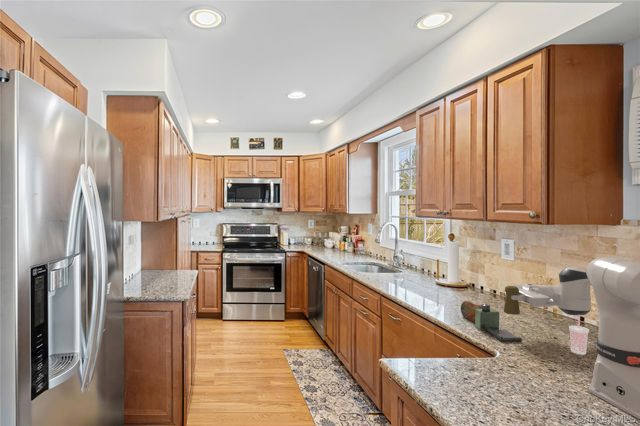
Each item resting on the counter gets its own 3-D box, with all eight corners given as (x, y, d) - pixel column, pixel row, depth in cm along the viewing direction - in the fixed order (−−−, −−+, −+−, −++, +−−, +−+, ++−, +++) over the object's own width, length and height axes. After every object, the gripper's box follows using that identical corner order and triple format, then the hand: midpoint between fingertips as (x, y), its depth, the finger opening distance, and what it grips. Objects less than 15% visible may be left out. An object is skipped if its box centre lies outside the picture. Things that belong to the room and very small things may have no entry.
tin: (460, 315, 172) (460, 298, 172) (465, 315, 173) (465, 298, 173) (481, 326, 158) (481, 307, 158) (487, 325, 159) (487, 307, 158)
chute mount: (521, 341, 140) (521, 316, 139) (495, 341, 139) (496, 316, 139) (498, 326, 157) (498, 303, 157) (475, 326, 157) (475, 303, 157)
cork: (522, 314, 142) (523, 287, 142) (507, 314, 142) (507, 287, 142) (515, 310, 148) (516, 284, 148) (501, 310, 148) (501, 284, 148)
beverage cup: (579, 356, 126) (580, 318, 126) (564, 349, 132) (565, 312, 132) (593, 354, 128) (593, 317, 127) (577, 348, 134) (578, 311, 133)
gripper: (557, 310, 135) (522, 310, 135) (526, 296, 156) (495, 296, 156) (558, 294, 135) (522, 294, 135) (526, 282, 156) (495, 282, 156)
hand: (508, 295), depth 146 cm, fingers closed on cork, 3 cm apart
